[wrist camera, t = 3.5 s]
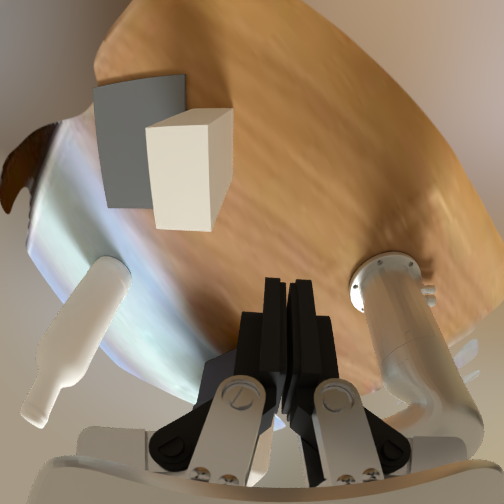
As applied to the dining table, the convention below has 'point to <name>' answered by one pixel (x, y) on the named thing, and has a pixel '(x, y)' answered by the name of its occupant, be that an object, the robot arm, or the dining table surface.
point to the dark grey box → (215, 376)
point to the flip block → (190, 167)
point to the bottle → (75, 335)
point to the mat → (132, 133)
